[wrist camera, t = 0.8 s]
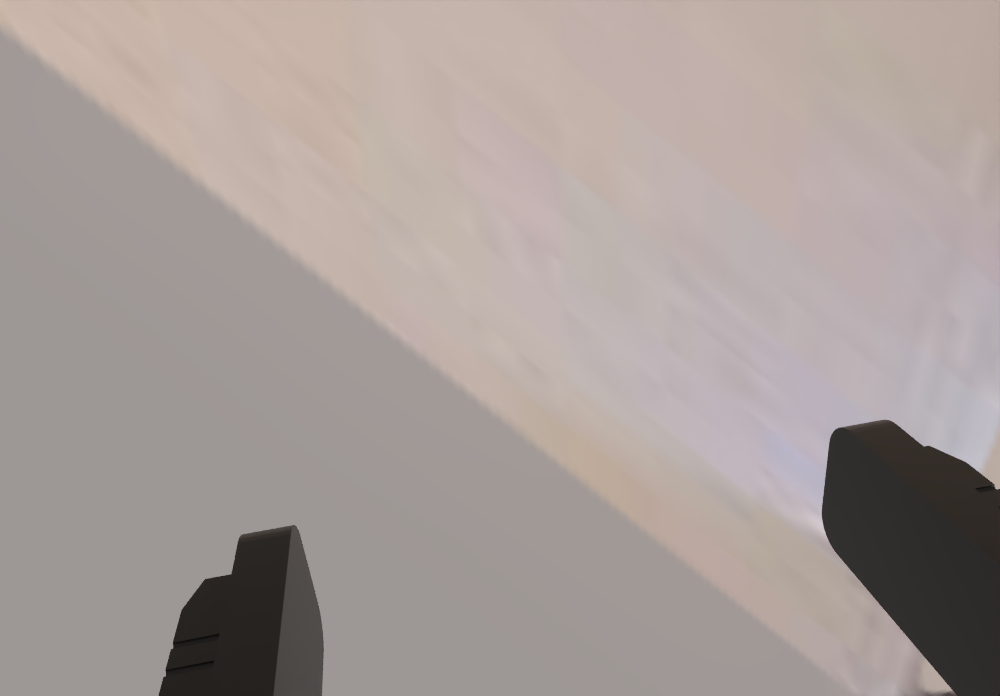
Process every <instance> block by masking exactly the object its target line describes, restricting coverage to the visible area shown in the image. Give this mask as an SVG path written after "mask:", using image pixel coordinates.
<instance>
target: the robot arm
mask: <svg viewBox="0 0 1000 696" xmlns="http://www.w3.org/2000/svg"><path fill="white" fill-rule="evenodd" d="M822 520H823V525H824V529H825V532H826V535H827V538H828V540H829V542H830V544H831V546H832V547H833V549H834V550H835V552H836V553H837V554H838V555H839V557H840V558H841V559H842V560H843V561H844V563H845V564H846V565H847V566H848V567H849V568H850V570H851V571H852V572H853V573H854V574H855V576H856V577H857V578H858V579H859V580H860V581H861V583H862V584H863V585H864V586H865V587H866V588H867V590H868V591H869V592H870V593H871V594H872V596H873V597H874V598H875V599H876V600H877V601H878V603H879V604H880V605H881V606H882V607H883V609H884V610H885V611H886V612H887V613H888V614H889V616H890V617H891V618H892V619H893V620H894V621H895V623H896V624H897V625H898V626H899V627H900V629H901V630H902V631H903V632H904V633H905V634H906V636H907V637H908V638H909V639H910V640H911V642H912V643H913V644H914V645H915V646H916V647H917V649H918V650H919V651H920V652H921V653H922V654H923V656H924V657H925V658H926V659H927V660H928V662H929V663H930V664H931V665H932V666H933V667H934V669H935V670H936V671H937V672H938V673H939V675H940V676H941V677H942V678H943V679H944V680H945V682H946V683H947V684H948V685H949V686H950V687H951V689H952V690H953V691H954V692H955V693H956V695H957V696H1000V489H998V490H996V489H995V487H994V484H993V483H992V482H990V481H989V480H988V479H986V478H985V477H984V476H983V475H982V474H980V473H979V472H978V471H976V470H975V469H974V468H973V467H971V466H970V465H969V464H967V463H966V462H964V461H962V460H960V459H957V458H955V457H953V456H951V455H948V454H946V453H944V452H942V451H940V450H937V449H935V448H933V447H931V446H925V447H923V446H922V445H921V444H920V443H919V442H917V441H916V440H915V439H914V438H912V437H911V436H910V435H909V434H907V433H906V432H905V431H904V430H903V429H901V428H900V427H899V426H898V425H896V424H895V423H893V422H892V421H889V420H880V421H874V422H869V423H863V424H858V425H852V426H847V427H841V428H838V429H836V430H835V431H834V432H833V433H832V435H831V438H830V443H829V451H828V460H827V469H826V478H825V487H824V496H823V505H822ZM173 646H174V647H173V649H171V652H170V655H169V659H168V663H167V667H166V677H164V678H163V681H162V685H161V689H160V692H159V696H322V678H323V677H322V676H323V652H324V648H323V647H324V646H323V631H322V622H321V616H320V610H319V606H318V602H317V598H316V594H315V590H314V587H313V583H312V579H311V575H310V571H309V567H308V563H307V560H306V556H305V552H304V548H303V544H302V540H301V537H300V534H299V531H298V529H297V527H296V526H295V525H292V526H287V527H281V528H276V529H270V530H264V531H259V532H253V533H248V534H243V535H241V536H240V538H239V541H238V545H237V550H236V555H235V561H234V565H233V570H232V574H231V575H226V576H220V577H215V578H209V579H205V580H204V581H203V583H202V584H201V585H200V587H199V588H198V589H197V591H196V592H195V593H194V595H193V596H192V597H191V598H190V600H189V601H188V602H187V604H186V605H185V606H184V608H183V609H182V611H181V615H180V618H179V622H178V626H177V629H176V633H175V637H174V641H173Z"/></svg>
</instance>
